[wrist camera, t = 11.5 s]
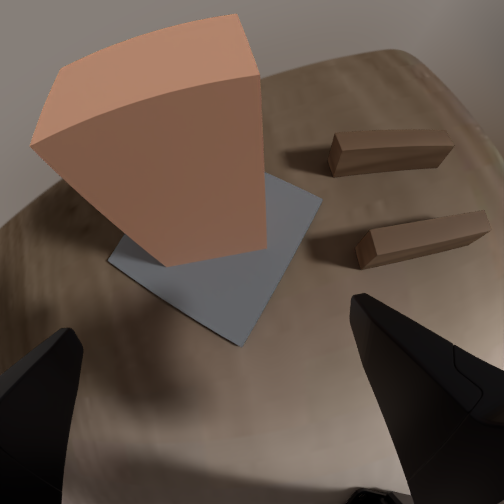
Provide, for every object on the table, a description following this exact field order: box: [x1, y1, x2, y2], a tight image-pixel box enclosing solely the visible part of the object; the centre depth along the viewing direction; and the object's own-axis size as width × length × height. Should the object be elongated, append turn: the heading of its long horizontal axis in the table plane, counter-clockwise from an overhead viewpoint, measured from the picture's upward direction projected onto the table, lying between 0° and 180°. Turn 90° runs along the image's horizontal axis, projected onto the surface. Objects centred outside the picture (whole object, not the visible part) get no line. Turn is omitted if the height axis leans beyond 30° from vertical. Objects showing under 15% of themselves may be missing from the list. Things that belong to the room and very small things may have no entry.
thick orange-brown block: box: [30, 14, 267, 267], centre depth 12 cm, size 4×6×12 cm, turn 100°
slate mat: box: [108, 172, 323, 347], centre depth 18 cm, size 10×10×1 cm
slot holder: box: [327, 130, 492, 270], centre depth 16 cm, size 8×9×3 cm
